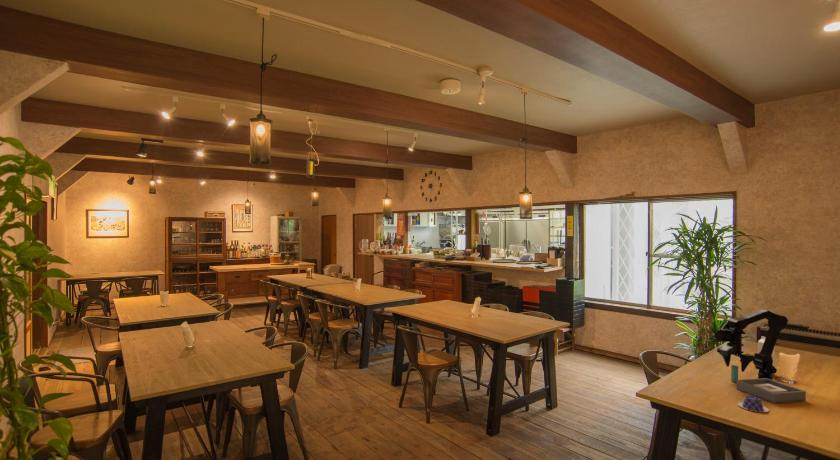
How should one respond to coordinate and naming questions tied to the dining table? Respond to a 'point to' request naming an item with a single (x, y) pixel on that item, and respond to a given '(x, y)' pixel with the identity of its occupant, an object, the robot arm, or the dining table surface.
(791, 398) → the box
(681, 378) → the dining table surface
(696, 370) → the dining table surface
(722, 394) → the dining table surface
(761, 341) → the milk
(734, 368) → the peg
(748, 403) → the checkered hat
